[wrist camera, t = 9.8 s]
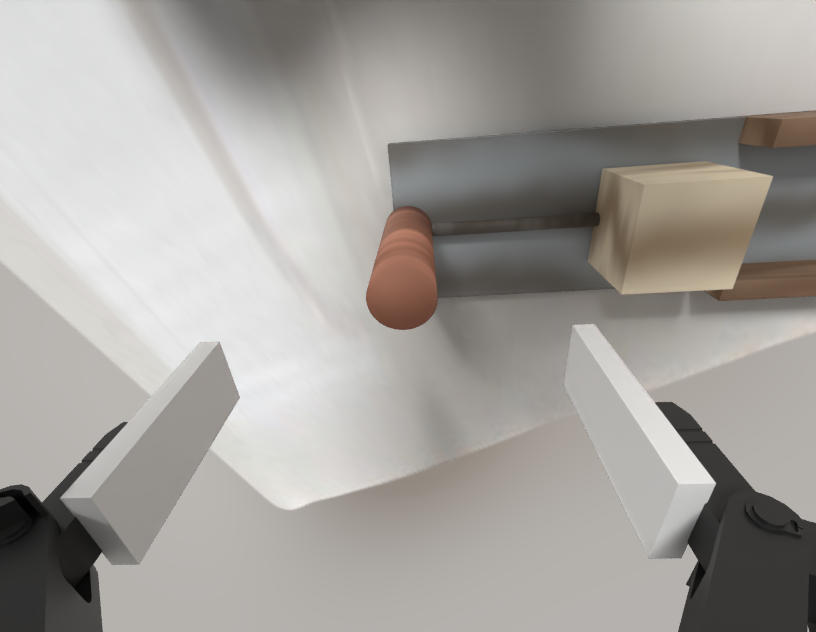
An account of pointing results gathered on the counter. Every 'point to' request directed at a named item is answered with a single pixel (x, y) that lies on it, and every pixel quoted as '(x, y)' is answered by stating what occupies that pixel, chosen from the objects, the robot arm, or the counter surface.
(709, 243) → the rod with end block
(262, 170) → the counter surface
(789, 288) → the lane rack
